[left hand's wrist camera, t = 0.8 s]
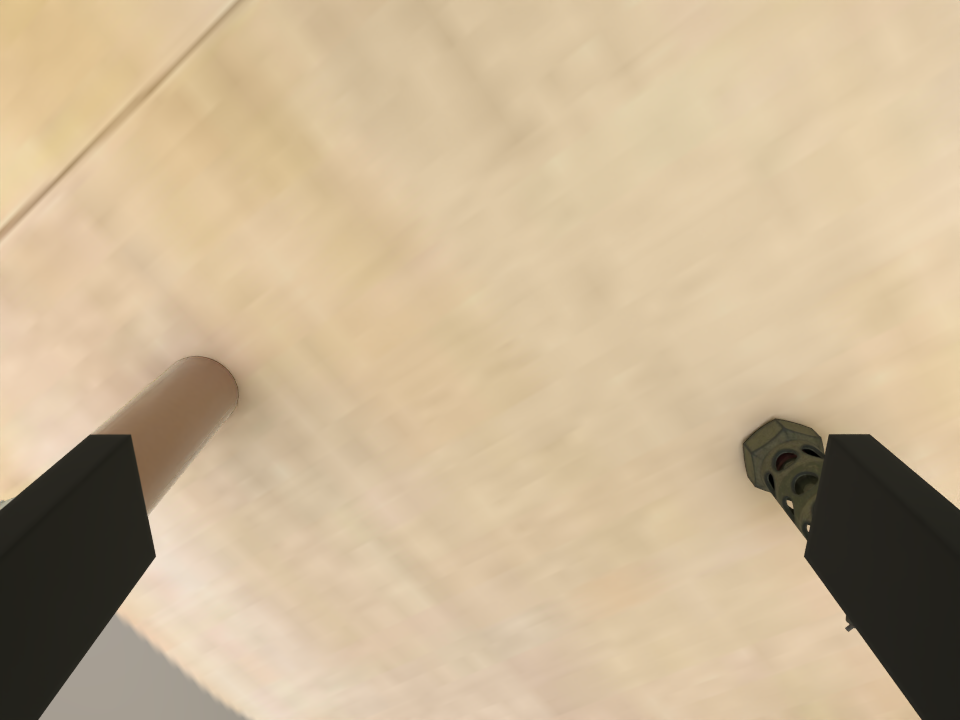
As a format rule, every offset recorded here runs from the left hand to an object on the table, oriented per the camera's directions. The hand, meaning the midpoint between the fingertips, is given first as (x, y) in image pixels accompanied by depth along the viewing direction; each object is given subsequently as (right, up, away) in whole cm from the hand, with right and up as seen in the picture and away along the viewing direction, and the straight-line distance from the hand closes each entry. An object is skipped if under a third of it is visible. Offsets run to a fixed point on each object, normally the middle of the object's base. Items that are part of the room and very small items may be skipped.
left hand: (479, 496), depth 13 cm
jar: (-18, +1, +30) cm, 34 cm away
